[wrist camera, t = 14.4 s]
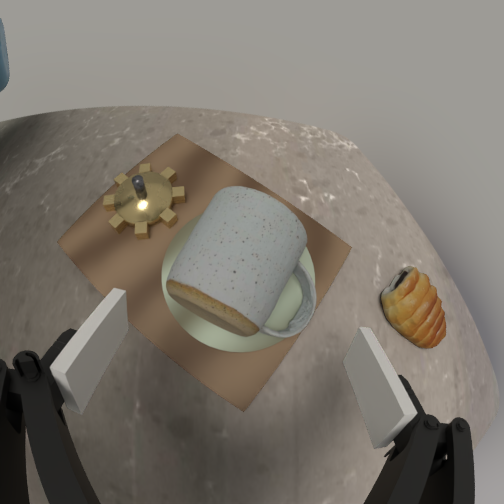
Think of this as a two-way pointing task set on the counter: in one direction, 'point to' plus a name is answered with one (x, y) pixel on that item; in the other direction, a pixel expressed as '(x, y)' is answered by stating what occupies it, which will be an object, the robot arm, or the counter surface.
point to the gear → (144, 200)
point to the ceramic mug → (242, 264)
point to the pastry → (415, 308)
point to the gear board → (162, 258)
